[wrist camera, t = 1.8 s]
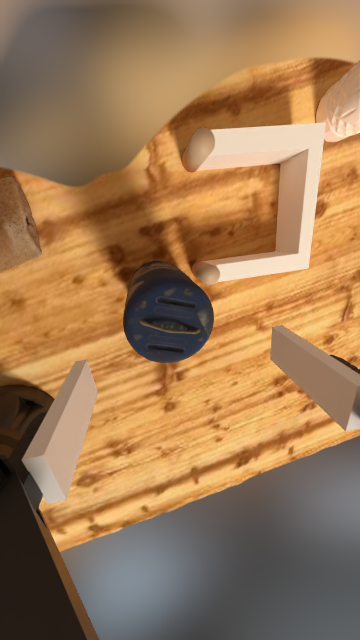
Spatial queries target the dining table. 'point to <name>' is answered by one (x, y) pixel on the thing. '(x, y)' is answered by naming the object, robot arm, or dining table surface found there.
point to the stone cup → (16, 226)
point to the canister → (166, 313)
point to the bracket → (294, 190)
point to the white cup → (341, 107)
